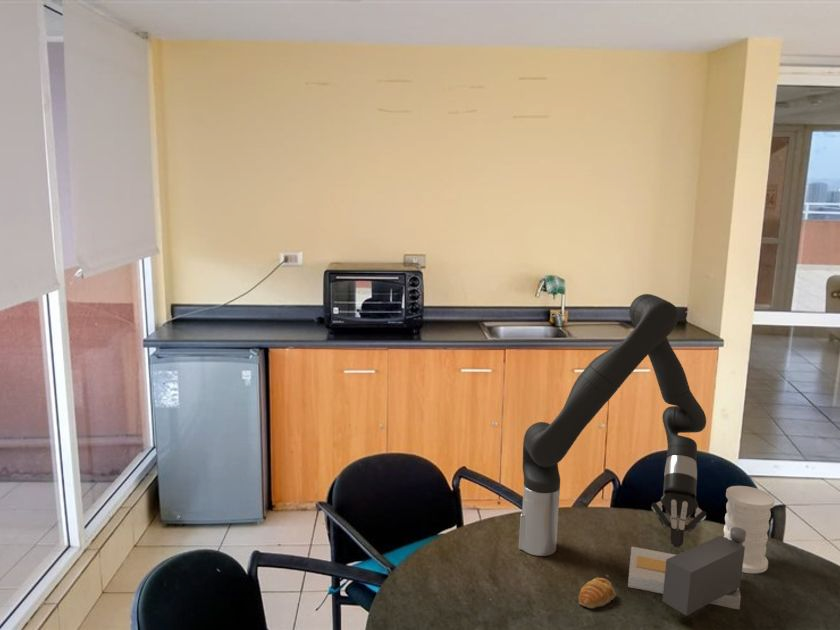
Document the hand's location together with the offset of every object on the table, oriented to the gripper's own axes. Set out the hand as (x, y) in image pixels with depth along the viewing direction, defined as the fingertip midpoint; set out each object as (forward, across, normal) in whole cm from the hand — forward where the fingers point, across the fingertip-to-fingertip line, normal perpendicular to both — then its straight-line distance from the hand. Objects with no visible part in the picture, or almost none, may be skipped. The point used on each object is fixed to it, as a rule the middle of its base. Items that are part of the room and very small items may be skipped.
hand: (676, 546), depth 156 cm
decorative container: (-6, +17, +20) cm, 27 cm away
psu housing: (+6, +2, +8) cm, 10 cm away
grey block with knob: (+9, +7, 0) cm, 11 cm away
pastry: (+16, -16, -2) cm, 23 cm away
